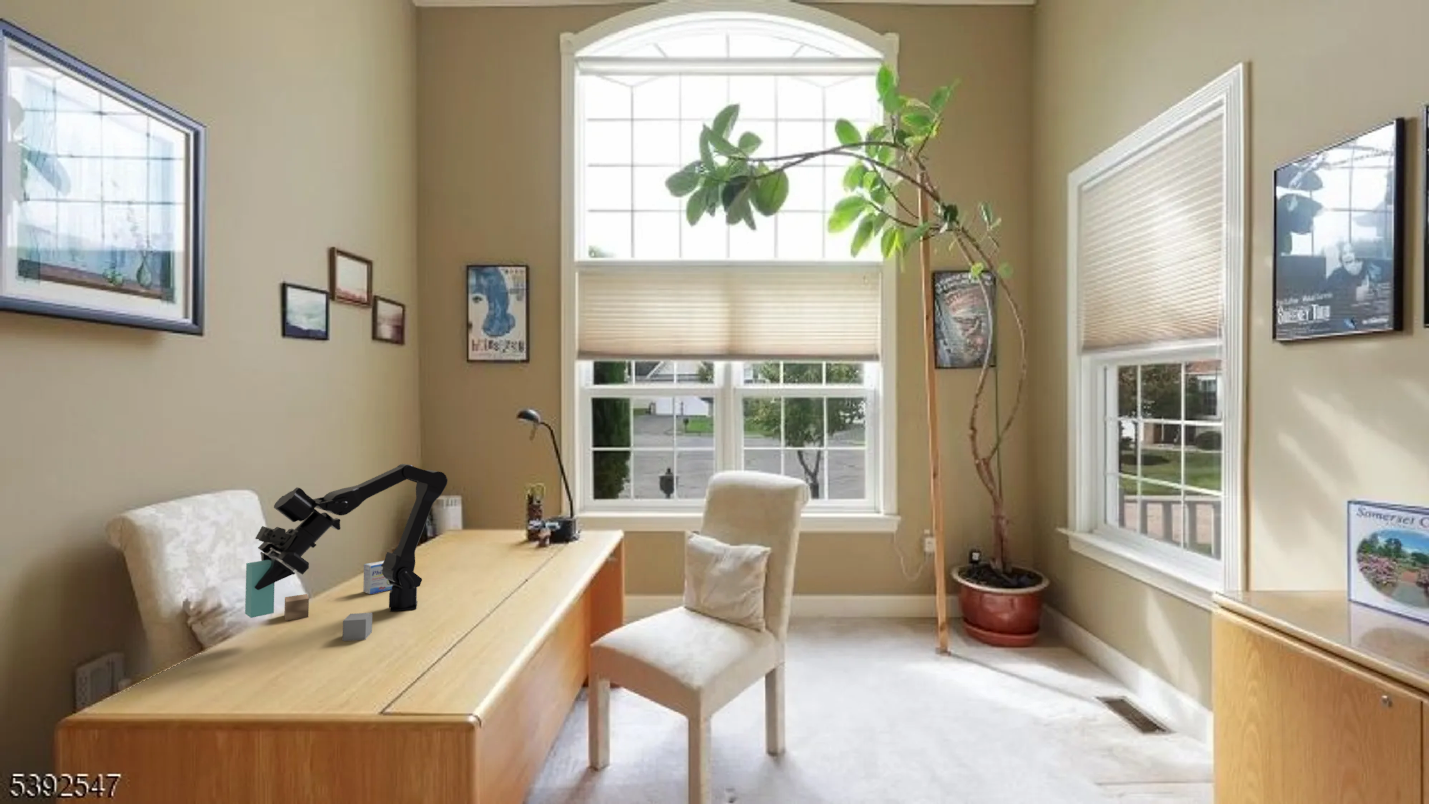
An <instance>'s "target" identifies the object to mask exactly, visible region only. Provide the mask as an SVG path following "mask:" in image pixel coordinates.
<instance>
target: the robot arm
mask: <svg viewBox="0 0 1429 804" xmlns="http://www.w3.org/2000/svg"><path fill="white" fill-rule="evenodd" d="M406 480H408V481H411V482H412V483H416V486H415V495H416V497H415V502H414V504H413V506H412V509H411V510H410V514H409V516H408V519H407V522H406V524H405V527H404V529H403V532H402V534H401V537H400V540H399V543H398V545H397V547H396V548H395V550H394V551H393V552H387V551H386V553H385V557H384V559H383V561H384V562H383V564H382V565H381V566H382V567H383V569H382V574H383V576H384V577H385V578H386V579H388V581H389V583H390V584H392V585H393V586H392V590H389V595H388V607H389V609H390V610H389V611H390V612H399V611H410V610H416V609H417V608H418V607H417V606H418V599H417V598H418V587H421V584H422V581H423V578H422V577H420V576H419V575H418V574H417V573H415V567H416V550H417V546H418V544H419V542H420V539H421V537H422V534H423V532H424V529H425V526H426V523H427V520H428V517H429V515H430V514H431V511H432V507H433V506H434V505H433V504H434V503H435V502H436V501H437V499H439V497H441V496H442V494H443V492H444V491H445V489H446V487H447V486H448V478H447V475H446V474H445V472H442V471H438V470H432V469H427V470H425V469H422V468H419V467H416V466H414V465H412V464H408V463H401V464H398V465H397V466H396V467H394V468H392V469H390V470H387V471H384V472H383V473H381V474H379V475H376V476H374V477H372V478H369V479H368V480H366V481H363V482H362V483H358V484H357V485H353V486H348V487H344V488H340V489H335V490H333V491H330V492H328V493H326V494H325V495H324V496H322V497H317V498H312V497H310V496H309V495H308V493H306V492H305V491H304V490H303V489H302V488H301V487H297V486H296V487H295V488H294V489H293V490H291V491H288V492H287V493H286V494H284V495H282V496H281V497H280V498H279V499H278V500H277V501H276V502H274V505H273V508H274V509H275V510H277V511H278V512H279V513H280V514H282V515H283V516H284V517H286V519H288V520H289V521H291V523H296V522H298V521H299V522H300V524H298V525H297V526H296V527H295V528H289V529H288V530H287V531H286V529H285V528H282V527H279V526H276V527H275V528H271V527H267V526H263V525H262V526H261V527H260V529H259V531H258V533H257V534H256V536H255V538H254V539H255V540H258V541H259V542H261V543H262V544H260V545H259V546H258V547H257V549H258V550H259V551H260V559H261V560H260V561H264V560H270V561H271V567H270V568H269V570H268V571H267V572H266V573H265V574H264V576H263V577H262V578H261V579H260V581H259V582H258V583H257V585H256V586H255V588H256V589H257V590H260V589H262V588H264V587H266V586H268V585H270V584H273V583H277V582H279V581H281V580H284V579H286V578H288V577H290V576H294V575H296V572H297V573H298V574H301V575H304V574H305V573H306V572H307V571H308V570H309V569H310V562H308V561H307V560H306V559H304V557H302V556H303V555H305V554H306V552H307V551H308V550H309V549H310V548H311V549H314V548H315V547H316V546H317V544H316V542H317V541H318V540H319V539H320V538H321V537H322V536H323V535H324V534H325V533H326V532H328V531H329V529H330V528H332V529H334V530H337V531H340V530H341V519H340V518H338V517H335V518H333V516H331V515H330V514H332V515H336V516H339V517H341V516H346V515H348V514H350V513H352V512H353V511H354V510H356V508H358V507H360V505H362V504H363V503H364V501H366V500H367V499H369V498H371V497H373V496H375V495H377V494H380V493H381V492H383V491H385V490H388V489H389V488H391V487H394V486H396V485H399V484H401V483H402V482H404V481H406ZM317 509H319V510H322V511H325V512H321V513H320V512H319V511H318V510H317ZM295 571H296V572H295Z"/></svg>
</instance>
